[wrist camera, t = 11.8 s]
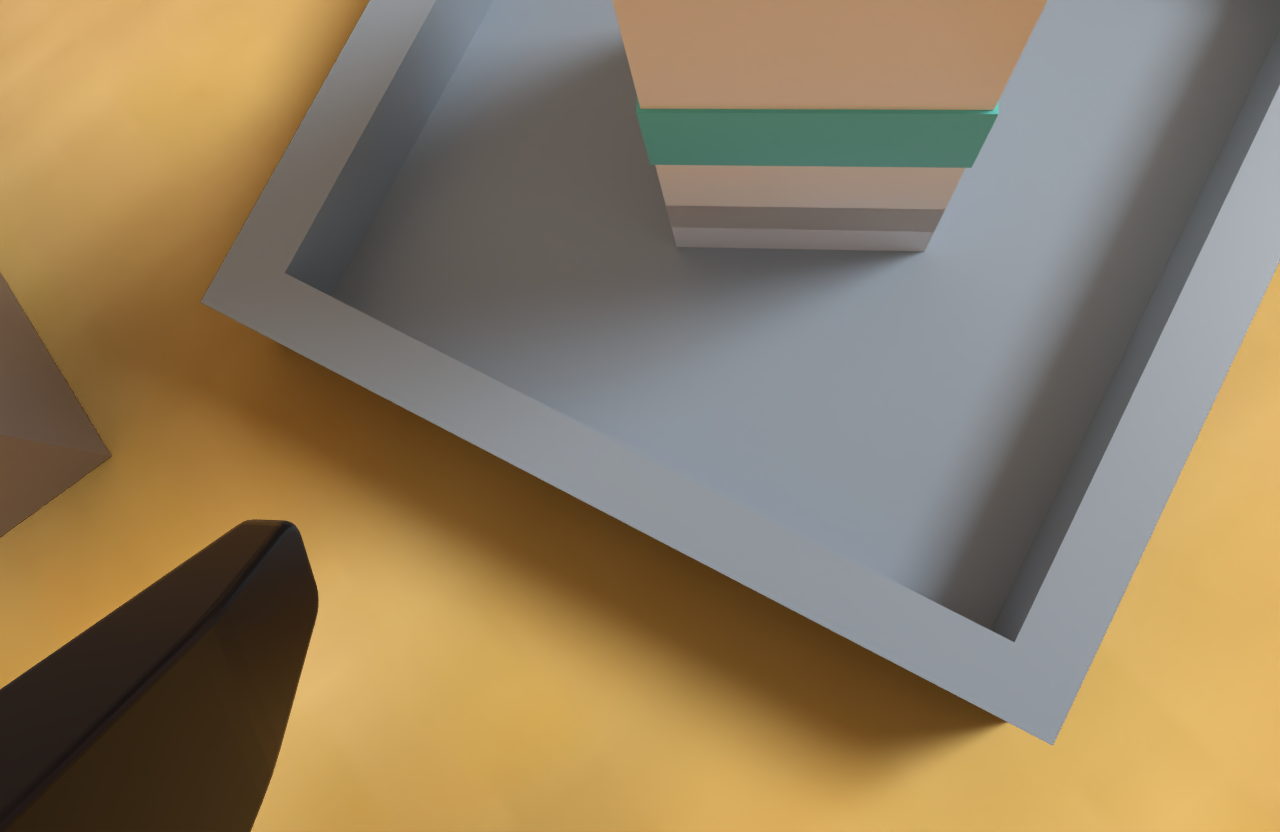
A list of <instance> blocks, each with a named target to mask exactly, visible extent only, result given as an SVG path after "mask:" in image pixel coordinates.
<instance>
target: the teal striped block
mask: <svg viewBox="0 0 1280 832" xmlns="http://www.w3.org/2000/svg"><path fill="white" fill-rule="evenodd" d="M612 1H613V5H614V9H615V13H616V17H617V20H618V24H619V28H620V32H621V36H622V40H623V43H624V47H625V51H626V55H627V59H628V63H629V66H630V70H631V74H632V78H633V82H634V86H635V89H636V93H637V106H636V114H637V118H638V122H639V125H640V129H641V133H642V136H643V140H644V144H645V147H646V151H647V155H648V158H649V162H650V165H655V166H656V170H657V174H658V178H659V181H660V185H661V189H662V193H663V197H664V201H665V204H666V208H667V212H668V216H669V220H670V224H671V227H672V231H673V235H674V239H675V243H676V247H709V248H763V249H817V250H870V251H924V252H925V250H926V248H927V246H928V244H929V242H930V240H931V238H932V236H933V234H934V232H935V230H936V228H937V225H938V223H939V221H940V219H941V217H942V215H943V213H944V211H945V209H946V207H947V205H948V203H949V201H950V199H951V197H952V195H953V193H954V191H955V189H956V187H957V185H958V182H959V180H960V178H961V176H962V174H963V172H964V170H965V168H972V166H973V164H974V162H975V160H976V158H977V156H978V154H979V152H980V150H981V148H982V146H983V144H984V142H985V140H986V138H987V136H988V134H989V132H990V130H991V128H992V126H993V124H994V122H995V120H996V118H997V116H998V112H999V99H1000V97H1001V94H1002V92H1003V90H1004V88H1005V86H1006V84H1007V82H1008V80H1009V78H1010V76H1011V74H1012V72H1013V70H1014V68H1015V66H1016V64H1017V62H1018V60H1019V58H1020V56H1021V54H1022V51H1023V49H1024V47H1025V45H1026V43H1027V41H1028V39H1029V37H1030V35H1031V33H1032V31H1033V29H1034V27H1035V25H1036V23H1037V21H1038V19H1039V17H1040V15H1041V13H1042V11H1043V8H1044V6H1045V4H1046V2H1047V0H612Z"/></svg>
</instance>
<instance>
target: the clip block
mask: <svg viewBox="0 0 1280 832" xmlns="http://www.w3.org/2000/svg"><path fill="white" fill-rule="evenodd" d="M110 457H111V454H110V453H109V451H108V449H107V448H106V446H105V445H104V443H103V441H102V440H101V438H100V436H99V435H98V433H97V431H96V430H95V428H94V426H93V425H92V423H91V421H90V420H89V418H88V416H87V415H86V413H85V412H84V410H83V408H82V407H81V405H80V403H79V402H78V400H77V398H76V397H75V395H74V393H73V392H72V390H71V388H70V387H69V385H68V383H67V382H66V380H65V379H64V377H63V375H62V374H61V372H60V370H59V369H58V367H57V365H56V364H55V362H54V360H53V359H52V357H51V355H50V354H49V352H48V350H47V349H46V347H45V346H44V344H43V342H42V341H41V339H40V337H39V336H38V334H37V332H36V331H35V329H34V327H33V326H32V324H31V322H30V321H29V319H28V317H27V316H26V314H25V313H24V311H23V309H22V308H21V306H20V304H19V303H18V301H17V299H16V298H15V296H14V294H13V293H12V291H11V289H10V288H9V286H8V284H7V283H6V281H5V280H4V278H3V276H2V275H1V273H0V537H1V536H3V535H4V534H5V533H7V532H8V531H10V530H11V529H12V528H14V527H15V526H16V525H18V524H19V523H21V522H22V521H23V520H25V519H26V518H27V517H29V516H30V515H31V514H33V513H34V512H36V511H37V510H38V509H40V508H41V507H42V506H44V505H45V504H47V503H48V502H49V501H51V500H52V499H53V498H55V497H56V496H58V495H59V494H60V493H62V492H63V491H64V490H66V489H67V488H69V487H70V486H71V485H73V484H74V483H75V482H77V481H78V480H79V479H81V478H82V477H84V476H85V475H86V474H88V473H89V472H90V471H92V470H93V469H95V468H96V467H97V466H99V465H100V464H101V463H103V462H104V461H106V460H107V459H108V458H110Z"/></svg>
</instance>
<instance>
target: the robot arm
mask: <svg viewBox="0 0 1280 832" xmlns="http://www.w3.org/2000/svg"><path fill="white" fill-rule="evenodd" d="M317 612H318V590H317V586H316V582H315V579H314V576H313V573H312V569H311V566H310V563H309V560H308V556H307V553H306V550H305V547H304V543H303V540H302V537H301V534H300V532H299V530H298V528H297V527H296V526H295V525H294V524H293V523H291V522H288V521H281V520H255V519H254V520H247V521H244V522H242V523H241V524H239V525H237V526H236V527H234V528H233V529H231V530H230V531H229V532H227V533H226V534H224V535H223V536H221V537H220V538H218V539H217V540H216V541H214V542H213V543H211V544H210V545H208V546H207V547H205V548H204V549H203V550H201V551H200V552H198V553H197V554H195V555H194V556H192V557H191V558H190V559H188V560H187V561H185V562H184V563H182V564H181V565H179V566H178V567H177V568H175V569H174V570H172V571H171V572H169V573H168V574H166V575H165V576H164V577H162V578H161V579H159V580H158V581H156V582H155V583H153V584H152V585H151V586H149V587H148V588H146V589H145V590H143V591H142V592H140V593H139V594H138V595H136V596H135V597H133V598H132V599H130V600H129V601H127V602H126V603H125V604H123V605H122V606H120V607H119V608H117V609H116V610H114V611H113V612H112V613H110V614H109V615H107V616H106V617H104V618H103V619H101V620H100V621H99V622H97V623H96V624H94V625H93V626H91V627H90V628H88V629H87V630H86V631H84V632H83V633H81V634H80V635H78V636H77V637H75V638H74V639H73V640H71V641H70V642H68V643H67V644H65V645H64V646H62V647H61V648H60V649H58V650H57V651H55V652H54V653H52V654H51V655H49V656H48V657H47V658H45V659H44V660H42V661H41V662H39V663H38V664H37V665H35V666H34V667H32V668H31V669H29V670H28V671H26V672H25V673H24V674H22V675H21V676H19V677H18V678H16V679H15V680H13V681H12V682H11V683H9V684H8V685H6V686H5V687H3V688H2V689H0V832H251V829H252V827H253V824H254V822H255V819H256V817H257V814H258V812H259V809H260V807H261V804H262V802H263V799H264V796H265V794H266V791H267V788H268V785H269V783H270V780H271V777H272V775H273V771H274V768H275V765H276V762H277V758H278V755H279V752H280V749H281V745H282V741H283V738H284V734H285V730H286V727H287V723H288V719H289V716H290V712H291V709H292V705H293V701H294V698H295V694H296V690H297V687H298V683H299V679H300V676H301V672H302V669H303V665H304V661H305V658H306V654H307V650H308V647H309V643H310V639H311V636H312V632H313V629H314V625H315V621H316V617H317Z"/></svg>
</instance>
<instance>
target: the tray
mask: <svg viewBox="0 0 1280 832" xmlns="http://www.w3.org/2000/svg"><path fill="white" fill-rule="evenodd" d="M636 106H637V93H636V89H635V86H634V82H633V78H632V74H631V70H630V66H629V63H628V59H627V55H626V51H625V47H624V43H623V40H622V36H621V32H620V28H619V24H618V20H617V17H616V13H615V9H614V5H613V1H612V0H370V1H369V3H368V5H367V6H366V8H365V10H364V12H363V13H362V15H361V17H360V19H359V21H358V22H357V24H356V26H355V28H354V29H353V31H352V33H351V35H350V37H349V38H348V40H347V42H346V44H345V46H344V47H343V49H342V51H341V53H340V54H339V56H338V58H337V60H336V62H335V63H334V65H333V67H332V69H331V70H330V72H329V74H328V76H327V78H326V79H325V81H324V83H323V85H322V86H321V88H320V90H319V92H318V94H317V95H316V97H315V99H314V101H313V103H312V104H311V106H310V108H309V110H308V111H307V113H306V115H305V117H304V119H303V120H302V122H301V124H300V126H299V127H298V129H297V131H296V133H295V135H294V136H293V138H292V140H291V142H290V144H289V145H288V147H287V149H286V151H285V152H284V154H283V156H282V158H281V160H280V161H279V163H278V165H277V167H276V168H275V170H274V172H273V174H272V176H271V177H270V179H269V181H268V183H267V184H266V186H265V188H264V190H263V192H262V193H261V195H260V197H259V199H258V201H257V202H256V204H255V206H254V208H253V209H252V211H251V213H250V215H249V217H248V218H247V220H246V222H245V224H244V225H243V227H242V229H241V231H240V233H239V234H238V236H237V238H236V240H235V242H234V243H233V245H232V247H231V249H230V250H229V252H228V254H227V256H226V258H225V259H224V261H223V263H222V265H221V266H220V268H219V270H218V272H217V274H216V275H215V277H214V279H213V281H212V282H211V284H210V286H209V288H208V290H207V291H206V293H205V295H204V297H203V299H202V300H201V303H203V304H205V305H206V306H208V307H210V308H212V309H214V310H216V311H218V312H220V313H222V314H224V315H226V316H228V317H230V318H231V319H233V320H235V321H237V322H239V323H241V324H243V325H245V326H247V327H249V328H251V329H253V330H255V331H256V332H258V333H260V334H262V335H264V336H266V337H268V338H270V339H272V340H274V341H276V342H278V343H280V344H281V345H283V346H285V347H287V348H289V349H291V350H293V351H295V352H297V353H299V354H301V355H303V356H305V357H306V358H308V359H310V360H312V361H314V362H316V363H318V364H320V365H322V366H324V367H326V368H328V369H330V370H331V371H333V372H335V373H337V374H339V375H341V376H343V377H345V378H347V379H349V380H351V381H353V382H355V383H356V384H358V385H360V386H362V387H364V388H366V389H368V390H370V391H372V392H374V393H376V394H378V395H380V396H381V397H383V398H385V399H387V400H389V401H391V402H393V403H395V404H397V405H399V406H401V407H403V408H405V409H406V410H408V411H410V412H412V413H414V414H416V415H418V416H420V417H422V418H424V419H426V420H428V421H430V422H431V423H433V424H435V425H437V426H439V427H441V428H443V429H445V430H447V431H449V432H451V433H453V434H455V435H456V436H458V437H460V438H462V439H464V440H466V441H468V442H470V443H472V444H474V445H476V446H478V447H480V448H481V449H483V450H485V451H487V452H489V453H491V454H493V455H495V456H497V457H499V458H501V459H503V460H505V461H506V462H508V463H510V464H512V465H514V466H516V467H518V468H520V469H522V470H524V471H526V472H528V473H530V474H531V475H533V476H535V477H537V478H539V479H541V480H543V481H545V482H547V483H549V484H551V485H553V486H555V487H556V488H558V489H560V490H562V491H564V492H566V493H568V494H570V495H572V496H574V497H576V498H578V499H580V500H581V501H583V502H585V503H587V504H589V505H591V506H593V507H595V508H597V509H599V510H601V511H603V512H605V513H606V514H608V515H610V516H612V517H614V518H616V519H618V520H620V521H622V522H624V523H626V524H628V525H630V526H631V527H633V528H635V529H637V530H639V531H641V532H643V533H645V534H647V535H649V536H651V537H653V538H655V539H656V540H658V541H660V542H662V543H664V544H666V545H668V546H670V547H672V548H674V549H676V550H678V551H680V552H681V553H683V554H685V555H687V556H689V557H691V558H693V559H695V560H697V561H699V562H701V563H703V564H704V565H706V566H708V567H710V568H712V569H714V570H716V571H718V572H720V573H722V574H724V575H726V576H728V577H729V578H731V579H733V580H735V581H737V582H739V583H741V584H743V585H745V586H747V587H749V588H751V589H753V590H754V591H756V592H758V593H760V594H762V595H764V596H766V597H768V598H770V599H772V600H774V601H776V602H778V603H779V604H781V605H783V606H785V607H787V608H789V609H791V610H793V611H795V612H797V613H799V614H801V615H803V616H804V617H806V618H808V619H810V620H812V621H814V622H816V623H818V624H820V625H822V626H824V627H826V628H828V629H829V630H831V631H833V632H835V633H837V634H839V635H841V636H843V637H845V638H847V639H849V640H851V641H853V642H854V643H856V644H858V645H860V646H862V647H864V648H866V649H868V650H870V651H872V652H874V653H876V654H878V655H879V656H881V657H883V658H885V659H887V660H889V661H891V662H893V663H895V664H897V665H899V666H901V667H903V668H904V669H906V670H908V671H910V672H912V673H914V674H916V675H918V676H920V677H922V678H924V679H926V680H928V681H929V682H931V683H933V684H935V685H937V686H939V687H941V688H943V689H945V690H947V691H949V692H951V693H953V694H954V695H956V696H958V697H960V698H962V699H964V700H966V701H968V702H970V703H972V704H974V705H976V706H978V707H979V708H981V709H983V710H985V711H987V712H989V713H991V714H993V715H995V716H997V717H999V718H1001V719H1003V720H1004V721H1006V722H1008V723H1010V724H1012V725H1014V726H1016V727H1018V728H1020V729H1022V730H1024V731H1026V732H1028V733H1029V734H1031V735H1033V736H1035V737H1037V738H1039V739H1041V740H1043V741H1045V742H1047V743H1049V744H1051V745H1053V744H1054V742H1055V740H1056V738H1057V736H1058V733H1059V731H1060V729H1061V727H1062V725H1063V723H1064V721H1065V719H1066V716H1067V714H1068V712H1069V710H1070V708H1071V706H1072V704H1073V701H1074V699H1075V697H1076V695H1077V693H1078V691H1079V689H1080V687H1081V684H1082V682H1083V680H1084V678H1085V676H1086V674H1087V672H1088V669H1089V667H1090V665H1091V663H1092V661H1093V659H1094V657H1095V654H1096V652H1097V650H1098V648H1099V646H1100V644H1101V642H1102V640H1103V637H1104V635H1105V633H1106V631H1107V629H1108V627H1109V625H1110V622H1111V620H1112V618H1113V616H1114V614H1115V612H1116V610H1117V608H1118V605H1119V603H1120V601H1121V599H1122V597H1123V595H1124V593H1125V590H1126V588H1127V586H1128V584H1129V582H1130V580H1131V578H1132V576H1133V573H1134V571H1135V569H1136V567H1137V565H1138V563H1139V561H1140V558H1141V556H1142V554H1143V552H1144V550H1145V548H1146V546H1147V543H1148V541H1149V539H1150V537H1151V535H1152V533H1153V531H1154V529H1155V526H1156V524H1157V522H1158V520H1159V518H1160V516H1161V514H1162V511H1163V509H1164V507H1165V505H1166V503H1167V501H1168V499H1169V497H1170V494H1171V492H1172V490H1173V488H1174V486H1175V484H1176V482H1177V479H1178V477H1179V475H1180V473H1181V471H1182V469H1183V467H1184V464H1185V462H1186V460H1187V458H1188V456H1189V454H1190V452H1191V450H1192V447H1193V445H1194V443H1195V441H1196V439H1197V437H1198V435H1199V432H1200V430H1201V428H1202V426H1203V424H1204V422H1205V420H1206V418H1207V415H1208V413H1209V411H1210V409H1211V407H1212V405H1213V403H1214V400H1215V398H1216V396H1217V394H1218V392H1219V390H1220V388H1221V385H1222V383H1223V381H1224V379H1225V377H1226V375H1227V373H1228V371H1229V368H1230V366H1231V364H1232V362H1233V360H1234V358H1235V356H1236V353H1237V351H1238V349H1239V347H1240V345H1241V343H1242V341H1243V339H1244V336H1245V334H1246V332H1247V330H1248V328H1249V326H1250V324H1251V321H1252V319H1253V317H1254V315H1255V313H1256V311H1257V309H1258V306H1259V304H1260V302H1261V300H1262V298H1263V296H1264V294H1265V292H1266V289H1267V287H1268V285H1269V283H1270V281H1271V279H1272V277H1273V274H1274V272H1275V270H1276V268H1277V266H1278V264H1279V262H1280V0H1047V2H1046V4H1045V6H1044V8H1043V11H1042V13H1041V15H1040V17H1039V19H1038V21H1037V23H1036V25H1035V27H1034V29H1033V31H1032V33H1031V35H1030V37H1029V39H1028V41H1027V43H1026V45H1025V47H1024V49H1023V51H1022V54H1021V56H1020V58H1019V60H1018V62H1017V64H1016V66H1015V68H1014V70H1013V72H1012V74H1011V76H1010V78H1009V80H1008V82H1007V84H1006V86H1005V88H1004V90H1003V92H1002V94H1001V97H1000V99H999V112H998V116H997V118H996V120H995V122H994V124H993V126H992V128H991V130H990V132H989V134H988V136H987V138H986V140H985V142H984V144H983V146H982V148H981V150H980V152H979V154H978V156H977V158H976V160H975V162H974V164H973V166H972V168H965V170H964V172H963V174H962V176H961V178H960V180H959V182H958V185H957V187H956V189H955V191H954V193H953V195H952V197H951V199H950V201H949V203H948V205H947V207H946V209H945V211H944V213H943V215H942V217H941V219H940V221H939V223H938V225H937V228H936V230H935V232H934V234H933V236H932V238H931V240H930V242H929V244H928V246H927V248H926V250H925V252H924V251H870V250H817V249H763V248H709V247H676V243H675V239H674V235H673V231H672V227H671V224H670V220H669V216H668V212H667V208H666V204H665V201H664V197H663V193H662V189H661V185H660V181H659V178H658V174H657V170H656V166H655V165H650V162H649V158H648V155H647V151H646V147H645V144H644V140H643V136H642V133H641V129H640V125H639V122H638V118H637V114H636Z"/></svg>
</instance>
